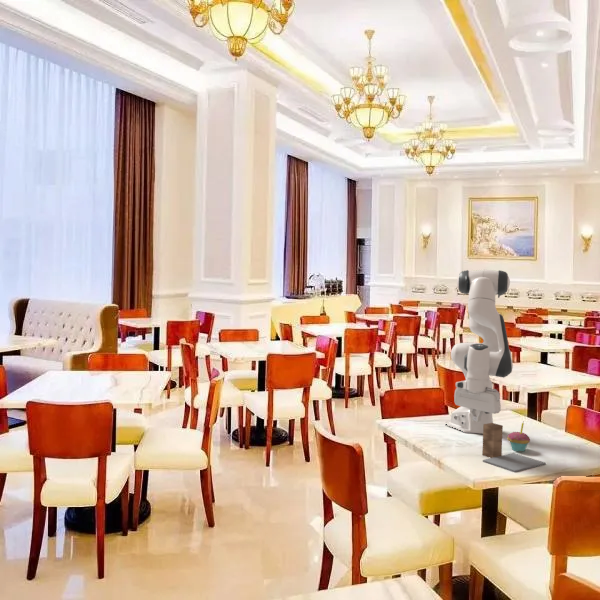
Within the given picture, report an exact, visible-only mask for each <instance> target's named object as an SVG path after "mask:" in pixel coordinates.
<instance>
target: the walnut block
mask: <svg viewBox="0 0 600 600" xmlns="http://www.w3.org/2000/svg"><path fill="white" fill-rule="evenodd" d="M503 428H504V426H503V425H502V424H498V423H494V422H493V423H488V424H483V434H482V456H483V457H486V458H489V457H490V458H493V457H498V456H502V455H503V453H502V452H503Z"/></svg>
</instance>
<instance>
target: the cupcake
mask: <svg viewBox="0 0 600 600" xmlns="http://www.w3.org/2000/svg"><path fill="white" fill-rule="evenodd" d="M524 424H525V423H524V420H523V421H522V423H521V427H520V431H512V432H510V433H509V434H508V435H507V437H506V438H507V439H506V440H507V441H508V442H509V443H510V445H511V446H510V447H511V449H512V450H513V451H514V452H519V451H523V452H525V450H526V448H527V447H528V444H529V443H530V441H531V439H530V436H528V434H527V433H525V432H523V430H524Z"/></svg>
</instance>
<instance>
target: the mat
mask: <svg viewBox="0 0 600 600" xmlns="http://www.w3.org/2000/svg"><path fill="white" fill-rule="evenodd" d="M482 462H483V463H486V464H489V465H493V466H496V467H498V468H501V469H504V470H506V471H507V470H508V471H509V472H514V473H517V472H521V470H522V471H525V469H526V470H529V469H532V467H533V468H535V467H536V466H537V467H541V466H544V465H543V464H545V465H546V463H547V462H544V461H541V460H539V459H538V460H537V459H535V458H533V457H528V456H525V455H522V454H518V453H514V452H512V453H511V452H510V453H506V454H502V456H498V457H493V458H489V457H488V458H485V459H482ZM540 465H541V466H540Z"/></svg>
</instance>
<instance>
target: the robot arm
mask: <svg viewBox="0 0 600 600" xmlns="http://www.w3.org/2000/svg"><path fill="white" fill-rule="evenodd" d="M510 284H511V281H510V277H509V275H508V273H507V271H503V270H494V269H479V270H478V269H477V270H473V269H472V270H468V269H467V270H462V271H461V272H460V273H459V275H458V276H457V279H456V285H457V289H458V291H459V292H460V293H461V294H464V295H468V299H467V312H468V315H469V321H468V328H469V330H470V332H471V333H473V334H475V335H476V336H478V337H479V338H481V339H482V340H483V342H459V343H455V344H454V345H453V346H452V348H451V351H450V357H451V361H452V362H453V363H454V365H456V366H457V367H458V369H460V370H461V372H462V373H463V375H464V378H465V379H464V380H461V381H456V382H455V390H454V395H453V397H454V401H453V402H454V404H455V405H456V406H459V407H458V408H456V409H454V410H453V411H452V412H451V414H450V418H449V420H448V421H445V423H444V425H445V424H447V425H449V426H451V427H450V428H452V427H453V429H454V428H456V429H455V430H457V429H458V430H457V431H459V430H461V431H460V432H462V431H463V433H465V434H466V433H468V434H469V433H470V434H471V433H473V434H482V435H483V424H488V423H494V420H493V415H494V414H495V415H496V414H499V413H500V412H501V410H502V409H501V407H502V406H501V399H500V397H501V396H500V392H499V390H498V389H496V388H493V387H494V386H493V381H492V380H491V379H490V376H494V377H498V378H499V377H500V378H503V379H505V378H506V377H508V376H509V375H510V374H512V372H513V367H514V366H513V365H514V364H513V359H512V357H513V355H512V351H511V350H510V347H509V341H508V334H507V333H508V332H507V328H506V323H505V319H504V317H503V315H502V314H500V313H499V312H498V310H497V307H496V296H497V298H500V297H501V296H503V295H505V294H506V293H507V292H508V290H509V288H510ZM447 425H446V426H447ZM449 426H448V427H449Z"/></svg>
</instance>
